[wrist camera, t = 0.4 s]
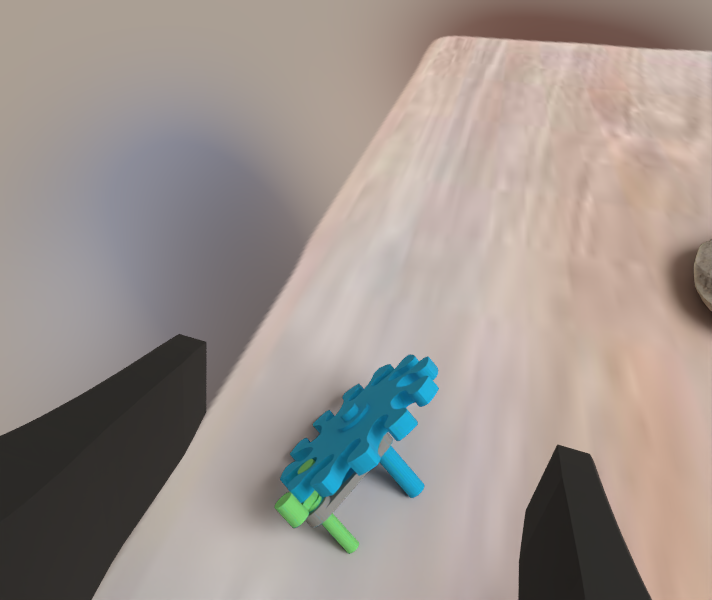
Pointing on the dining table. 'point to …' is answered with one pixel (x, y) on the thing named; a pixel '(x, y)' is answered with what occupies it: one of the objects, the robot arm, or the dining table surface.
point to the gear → (356, 446)
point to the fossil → (704, 273)
